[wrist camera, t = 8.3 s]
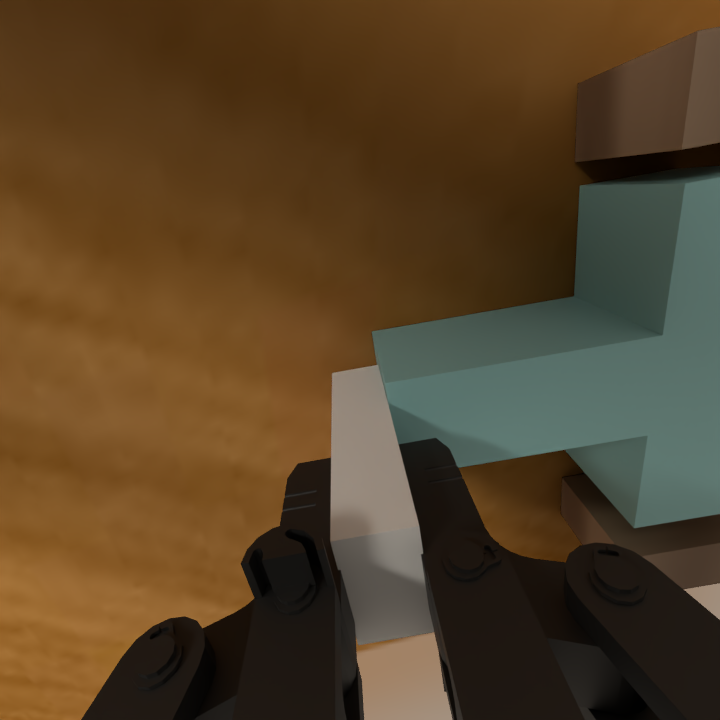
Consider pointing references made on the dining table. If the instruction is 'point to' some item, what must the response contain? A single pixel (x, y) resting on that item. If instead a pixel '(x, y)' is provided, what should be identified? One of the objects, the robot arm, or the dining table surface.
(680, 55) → the bracket
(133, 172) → the dining table surface
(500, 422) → the t block
